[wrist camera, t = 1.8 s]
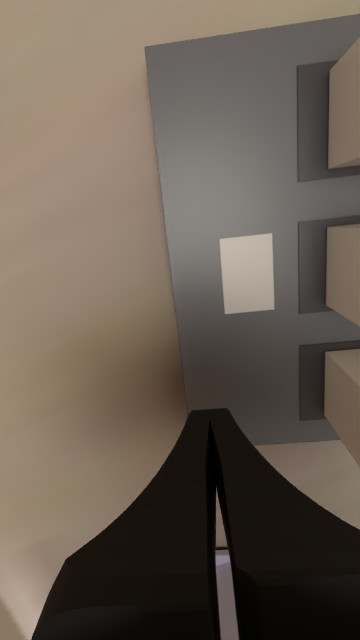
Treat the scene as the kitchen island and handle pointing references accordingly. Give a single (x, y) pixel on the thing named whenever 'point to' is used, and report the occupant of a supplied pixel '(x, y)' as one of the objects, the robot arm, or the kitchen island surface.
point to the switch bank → (254, 219)
